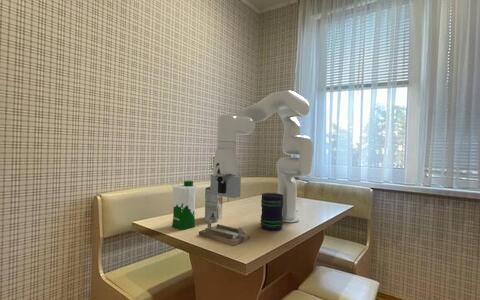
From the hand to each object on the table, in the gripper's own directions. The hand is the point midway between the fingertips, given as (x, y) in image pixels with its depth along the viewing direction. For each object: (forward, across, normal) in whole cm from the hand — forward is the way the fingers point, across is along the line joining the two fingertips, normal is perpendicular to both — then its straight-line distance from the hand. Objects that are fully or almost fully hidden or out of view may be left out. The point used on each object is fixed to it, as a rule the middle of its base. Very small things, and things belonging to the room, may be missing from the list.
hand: (225, 192), depth 105 cm
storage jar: (+18, -23, +9) cm, 31 cm away
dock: (+18, 0, 0) cm, 18 cm away
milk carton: (+18, +1, -22) cm, 28 cm away
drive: (+1, 0, 0) cm, 1 cm away
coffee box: (+18, -17, -20) cm, 32 cm away
